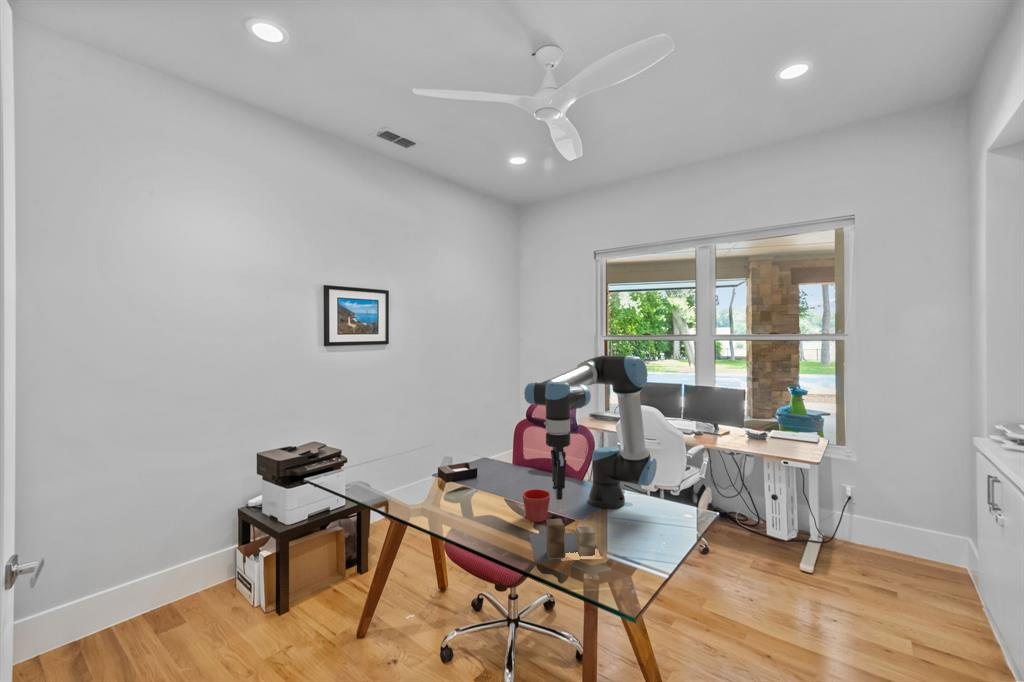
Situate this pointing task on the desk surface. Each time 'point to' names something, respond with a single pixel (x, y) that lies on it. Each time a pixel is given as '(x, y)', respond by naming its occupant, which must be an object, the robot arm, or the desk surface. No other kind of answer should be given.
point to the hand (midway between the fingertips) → (558, 508)
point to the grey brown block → (555, 539)
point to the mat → (541, 546)
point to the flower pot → (536, 504)
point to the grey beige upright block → (585, 541)
